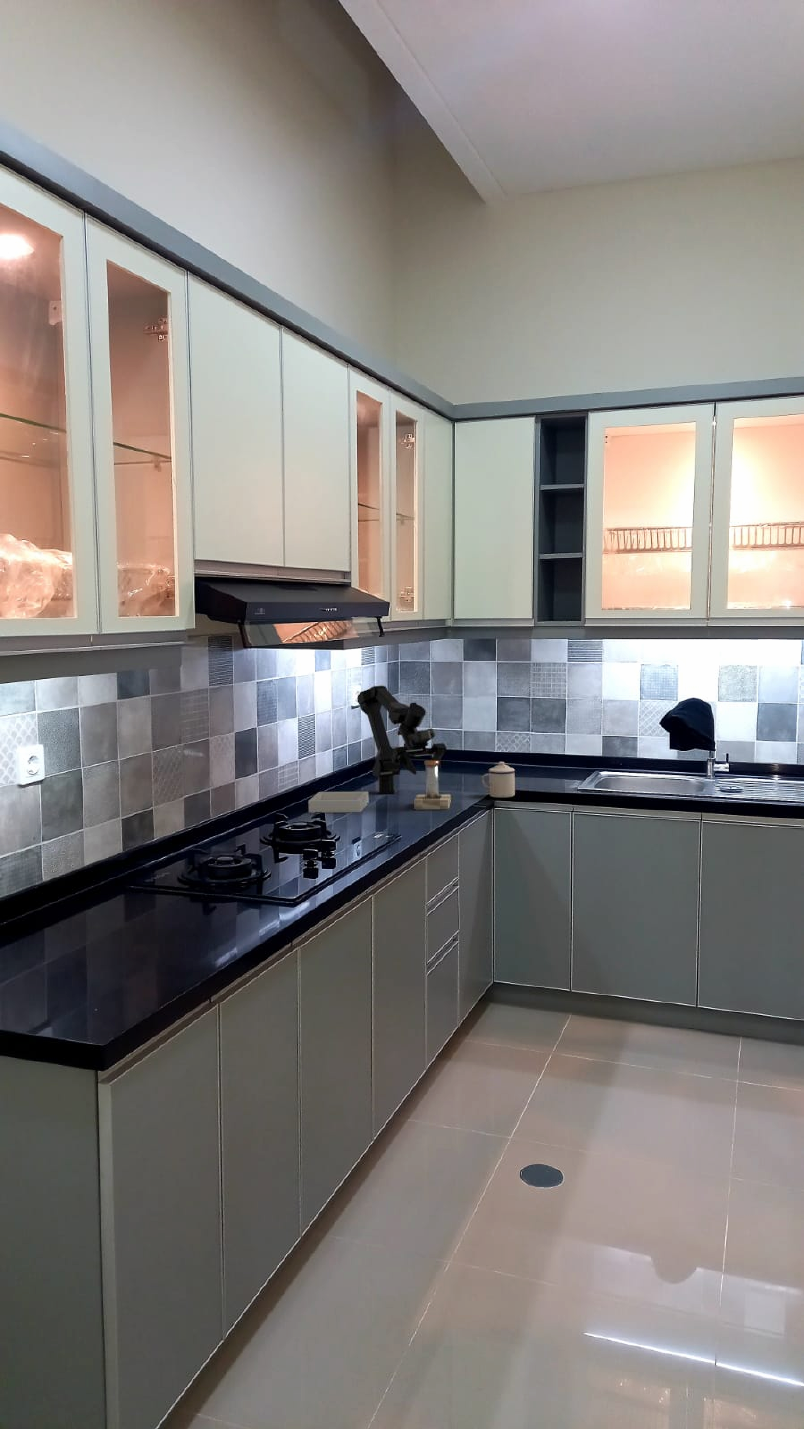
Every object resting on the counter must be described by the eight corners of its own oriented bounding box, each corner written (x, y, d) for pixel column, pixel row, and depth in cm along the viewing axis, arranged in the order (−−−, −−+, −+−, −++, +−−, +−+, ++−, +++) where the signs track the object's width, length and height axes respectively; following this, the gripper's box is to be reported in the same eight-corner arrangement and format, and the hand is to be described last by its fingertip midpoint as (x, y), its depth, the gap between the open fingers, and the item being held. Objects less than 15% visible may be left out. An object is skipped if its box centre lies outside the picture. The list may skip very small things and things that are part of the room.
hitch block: (417, 803, 340) (417, 794, 339) (450, 803, 338) (450, 794, 338) (414, 809, 329) (414, 800, 329) (448, 809, 328) (448, 800, 327)
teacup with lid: (519, 794, 352) (519, 760, 351) (509, 798, 344) (508, 764, 343) (488, 792, 358) (487, 759, 357) (477, 796, 350) (476, 762, 349)
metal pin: (426, 805, 336) (424, 760, 335) (440, 804, 336) (439, 760, 334) (424, 807, 332) (423, 762, 330) (439, 807, 331) (438, 762, 330)
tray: (319, 803, 346) (318, 792, 345) (368, 802, 344) (368, 791, 343) (308, 812, 329) (308, 801, 329) (360, 812, 327) (360, 800, 327)
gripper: (393, 723, 334) (410, 759, 325) (443, 719, 343) (460, 754, 334) (384, 744, 342) (400, 781, 333) (432, 740, 350) (449, 775, 341)
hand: (427, 772), depth 335 cm, fingers open, 9 cm apart
